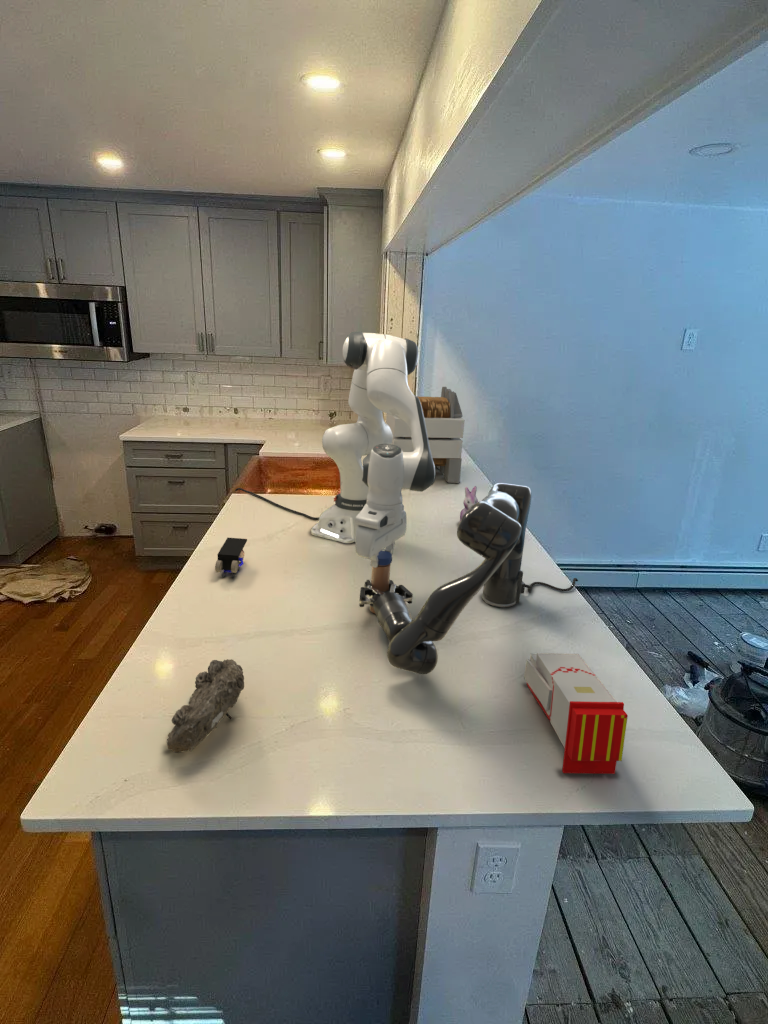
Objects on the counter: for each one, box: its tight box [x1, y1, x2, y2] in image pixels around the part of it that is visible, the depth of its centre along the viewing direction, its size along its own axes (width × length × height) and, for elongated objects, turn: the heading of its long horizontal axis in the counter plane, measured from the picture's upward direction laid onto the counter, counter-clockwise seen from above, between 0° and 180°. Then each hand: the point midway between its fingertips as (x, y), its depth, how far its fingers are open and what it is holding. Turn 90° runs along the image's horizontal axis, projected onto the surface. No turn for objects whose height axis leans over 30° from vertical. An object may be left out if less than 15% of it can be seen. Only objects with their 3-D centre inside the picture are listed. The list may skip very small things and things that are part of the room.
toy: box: [523, 652, 628, 775], centre depth 110 cm, size 12×13×30 cm
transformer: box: [385, 386, 465, 484], centre depth 268 cm, size 34×33×41 cm
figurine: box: [458, 485, 479, 524], centre depth 207 cm, size 9×10×15 cm
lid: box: [377, 550, 393, 565], centre depth 144 cm, size 5×5×2 cm
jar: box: [369, 563, 392, 615], centre depth 147 cm, size 5×5×15 cm
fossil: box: [166, 658, 245, 754], centre depth 106 cm, size 22×10×15 cm
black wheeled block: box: [214, 537, 248, 578], centre depth 166 cm, size 7×8×15 cm
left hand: (381, 561), depth 144 cm, fingers closed on lid, 5 cm apart
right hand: (377, 582), depth 149 cm, fingers closed on jar, 5 cm apart
